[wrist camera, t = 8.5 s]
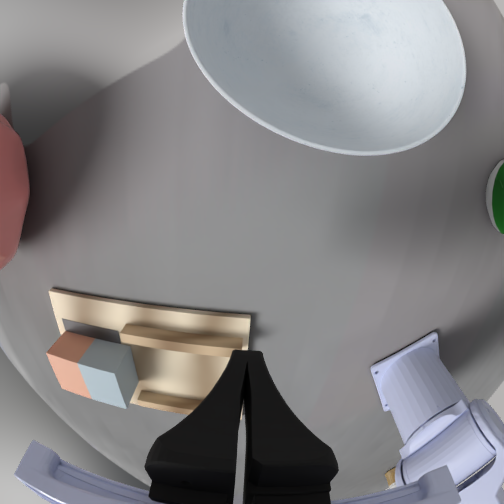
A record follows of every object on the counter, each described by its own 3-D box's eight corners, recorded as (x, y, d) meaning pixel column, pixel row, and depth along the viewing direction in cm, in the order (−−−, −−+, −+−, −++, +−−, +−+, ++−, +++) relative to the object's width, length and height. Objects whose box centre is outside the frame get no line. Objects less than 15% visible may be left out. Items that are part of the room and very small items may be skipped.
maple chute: (250, 314, 22) (250, 329, 20) (241, 415, 27) (241, 430, 25) (51, 288, 22) (40, 297, 20) (83, 385, 27) (77, 396, 25)
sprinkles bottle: (382, 472, 35) (397, 525, 23) (404, 462, 34) (421, 514, 22) (386, 476, 36) (400, 526, 24) (406, 467, 36) (422, 516, 23)
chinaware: (432, 122, 17) (497, 118, 10) (262, 187, 19) (266, 207, 12) (349, -27, 12) (378, -75, 5) (178, 20, 15) (144, -31, 7)
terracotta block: (95, 338, 23) (77, 363, 19) (106, 373, 25) (92, 398, 21) (65, 330, 23) (46, 352, 19) (77, 365, 25) (62, 388, 21)
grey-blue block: (130, 345, 23) (114, 373, 19) (138, 381, 25) (126, 409, 21) (95, 338, 23) (77, 363, 19) (106, 374, 25) (92, 398, 21)
